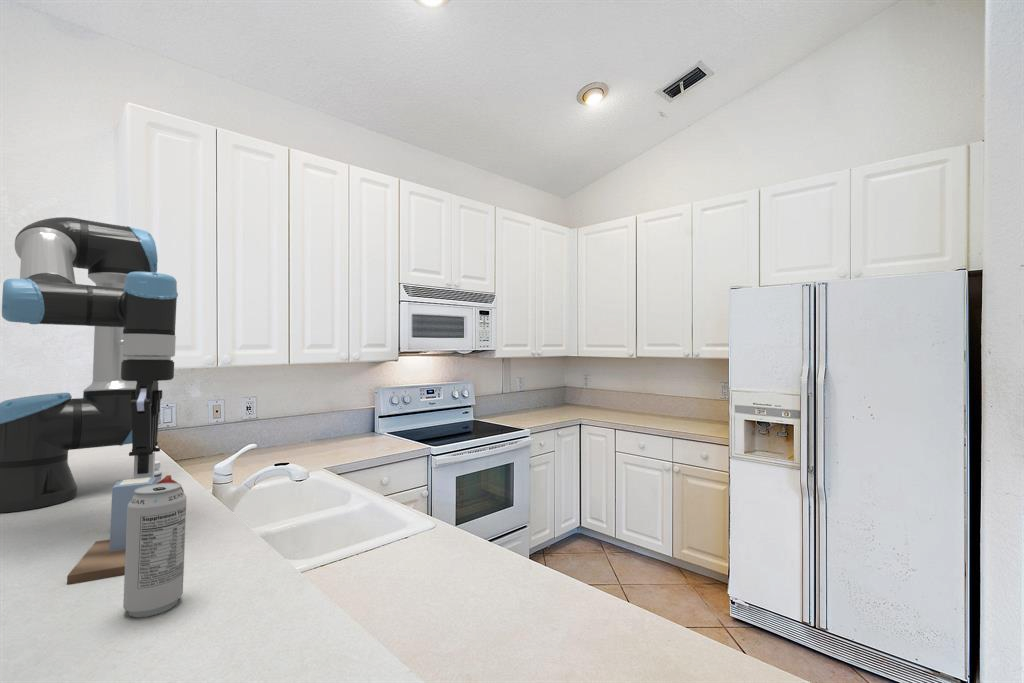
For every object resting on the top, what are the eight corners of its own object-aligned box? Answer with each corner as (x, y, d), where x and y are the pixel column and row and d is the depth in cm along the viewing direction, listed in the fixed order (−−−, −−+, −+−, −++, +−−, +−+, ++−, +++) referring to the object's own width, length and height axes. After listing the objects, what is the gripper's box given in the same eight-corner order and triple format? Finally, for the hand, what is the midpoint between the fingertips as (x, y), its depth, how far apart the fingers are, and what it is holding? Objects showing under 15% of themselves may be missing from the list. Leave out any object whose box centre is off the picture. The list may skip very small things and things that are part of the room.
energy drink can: (174, 590, 63) (178, 479, 64) (189, 605, 59) (193, 486, 60) (117, 608, 59) (122, 488, 59) (129, 625, 55) (134, 497, 55)
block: (116, 541, 77) (119, 479, 77) (154, 535, 80) (156, 475, 80) (109, 552, 73) (112, 486, 73) (149, 545, 75) (152, 482, 76)
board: (95, 548, 77) (95, 541, 77) (176, 536, 82) (177, 529, 82) (66, 584, 65) (67, 575, 65) (164, 567, 70) (165, 559, 70)
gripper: (130, 358, 87) (124, 485, 86) (112, 358, 76) (106, 503, 75) (178, 358, 91) (174, 480, 90) (169, 358, 80) (163, 497, 79)
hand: (143, 490), depth 83 cm, fingers closed
